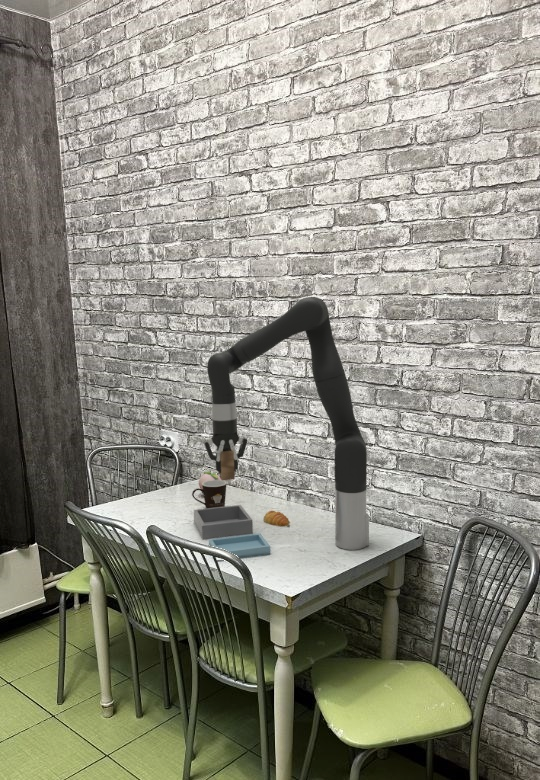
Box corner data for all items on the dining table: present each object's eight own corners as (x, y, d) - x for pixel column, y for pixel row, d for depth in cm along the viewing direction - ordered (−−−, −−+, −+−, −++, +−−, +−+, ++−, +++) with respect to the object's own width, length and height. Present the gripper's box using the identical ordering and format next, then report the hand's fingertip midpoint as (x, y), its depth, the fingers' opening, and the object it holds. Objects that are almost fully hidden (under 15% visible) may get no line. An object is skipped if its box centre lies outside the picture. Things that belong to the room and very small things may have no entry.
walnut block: (232, 475, 199) (230, 447, 198) (234, 479, 195) (233, 450, 194) (219, 477, 198) (218, 449, 197) (222, 480, 194) (220, 451, 193)
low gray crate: (241, 518, 214) (240, 504, 213) (252, 535, 198) (252, 519, 198) (194, 524, 209) (193, 509, 209) (202, 541, 194) (202, 525, 193)
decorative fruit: (194, 496, 240) (193, 470, 238) (209, 491, 246) (208, 466, 245) (211, 501, 234) (210, 474, 232) (226, 495, 240) (226, 470, 239)
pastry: (294, 525, 207) (294, 514, 206) (279, 531, 202) (278, 519, 202) (276, 518, 214) (276, 507, 213) (261, 523, 210) (260, 512, 209)
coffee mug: (229, 507, 227) (228, 480, 225) (225, 514, 218) (224, 486, 217) (197, 506, 228) (196, 479, 226) (192, 514, 219) (191, 486, 218)
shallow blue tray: (260, 541, 193) (260, 533, 193) (270, 554, 183) (270, 546, 183) (209, 547, 189) (208, 539, 189) (216, 561, 179) (215, 553, 178)
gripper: (203, 421, 188) (206, 477, 191) (249, 417, 192) (251, 472, 194) (199, 417, 196) (202, 471, 198) (244, 413, 199) (246, 466, 201)
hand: (226, 471), depth 196 cm, fingers closed on walnut block, 4 cm apart
